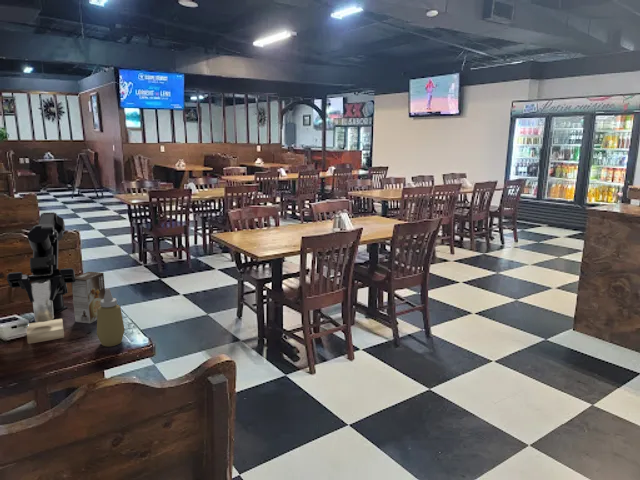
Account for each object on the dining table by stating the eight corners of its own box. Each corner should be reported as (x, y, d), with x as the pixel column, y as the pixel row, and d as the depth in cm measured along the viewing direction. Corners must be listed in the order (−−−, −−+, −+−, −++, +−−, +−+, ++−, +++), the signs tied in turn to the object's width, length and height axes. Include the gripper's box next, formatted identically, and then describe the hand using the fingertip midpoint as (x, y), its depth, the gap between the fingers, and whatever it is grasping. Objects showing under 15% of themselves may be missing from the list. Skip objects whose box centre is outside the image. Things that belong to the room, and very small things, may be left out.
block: (28, 332, 152) (27, 323, 152) (62, 326, 157) (62, 318, 157) (27, 343, 144) (26, 334, 143) (64, 337, 149) (63, 328, 148)
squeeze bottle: (98, 350, 141) (93, 294, 137) (97, 340, 148) (92, 286, 144) (126, 345, 144) (122, 291, 140) (124, 336, 151) (120, 283, 147)
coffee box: (92, 312, 170) (88, 270, 167) (107, 314, 169) (104, 272, 166) (74, 322, 161) (70, 278, 158) (90, 323, 160) (86, 279, 157)
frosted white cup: (45, 314, 153) (41, 278, 150) (58, 317, 151) (54, 280, 149) (30, 320, 148) (26, 283, 145) (43, 323, 146) (39, 285, 143)
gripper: (4, 248, 144) (0, 293, 137) (71, 244, 152) (71, 286, 144) (12, 265, 153) (9, 308, 145) (75, 261, 160) (75, 302, 153)
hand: (41, 301), depth 147 cm, fingers closed on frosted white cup, 5 cm apart
